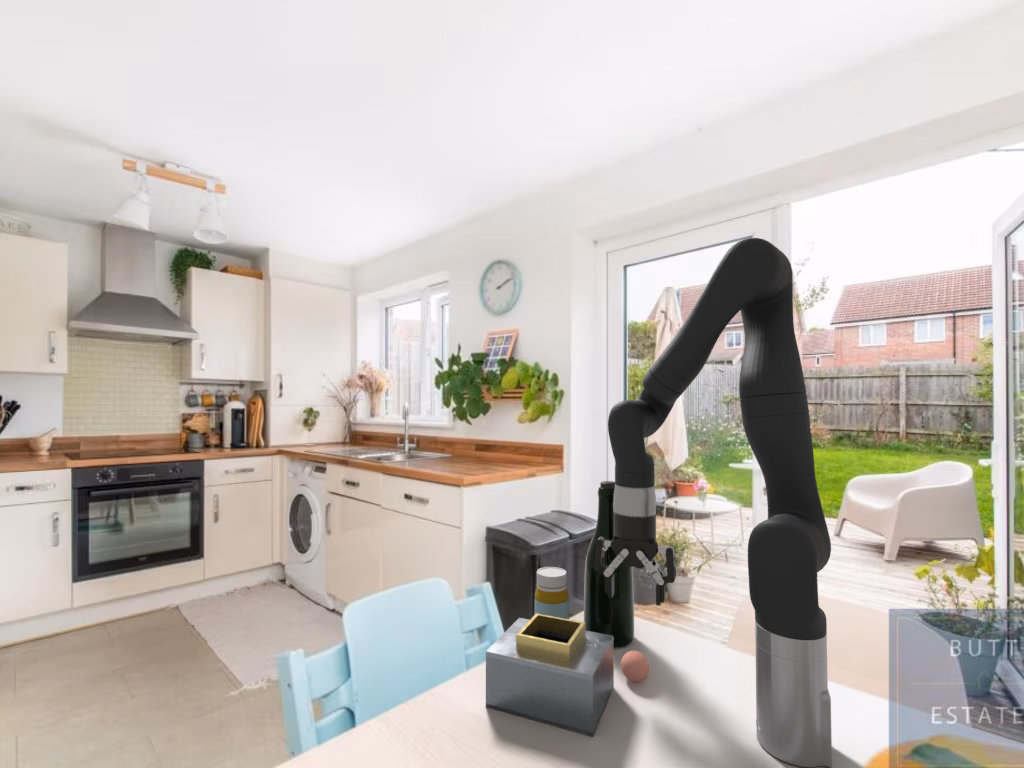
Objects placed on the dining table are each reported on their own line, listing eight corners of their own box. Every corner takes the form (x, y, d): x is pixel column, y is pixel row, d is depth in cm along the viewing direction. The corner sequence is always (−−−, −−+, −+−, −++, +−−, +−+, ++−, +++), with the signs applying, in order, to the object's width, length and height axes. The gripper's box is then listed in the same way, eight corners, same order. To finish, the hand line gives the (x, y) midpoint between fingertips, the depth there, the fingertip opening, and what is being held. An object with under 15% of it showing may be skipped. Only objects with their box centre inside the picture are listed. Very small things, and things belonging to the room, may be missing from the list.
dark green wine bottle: (584, 648, 102) (584, 485, 103) (583, 625, 112) (582, 477, 113) (637, 651, 101) (636, 486, 102) (631, 628, 111) (630, 478, 112)
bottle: (568, 638, 106) (568, 566, 107) (569, 655, 99) (568, 578, 100) (535, 636, 107) (535, 565, 107) (533, 653, 100) (533, 577, 101)
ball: (651, 676, 92) (651, 648, 92) (647, 691, 87) (646, 661, 87) (624, 670, 94) (623, 643, 94) (618, 684, 89) (618, 655, 89)
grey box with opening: (613, 688, 88) (613, 621, 88) (593, 736, 75) (592, 658, 76) (519, 665, 95) (519, 604, 96) (485, 706, 82) (485, 635, 83)
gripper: (677, 509, 92) (677, 599, 91) (600, 502, 98) (600, 586, 97) (673, 518, 85) (673, 615, 85) (590, 510, 91) (590, 601, 90)
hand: (634, 600), depth 91 cm, fingers open, 8 cm apart
